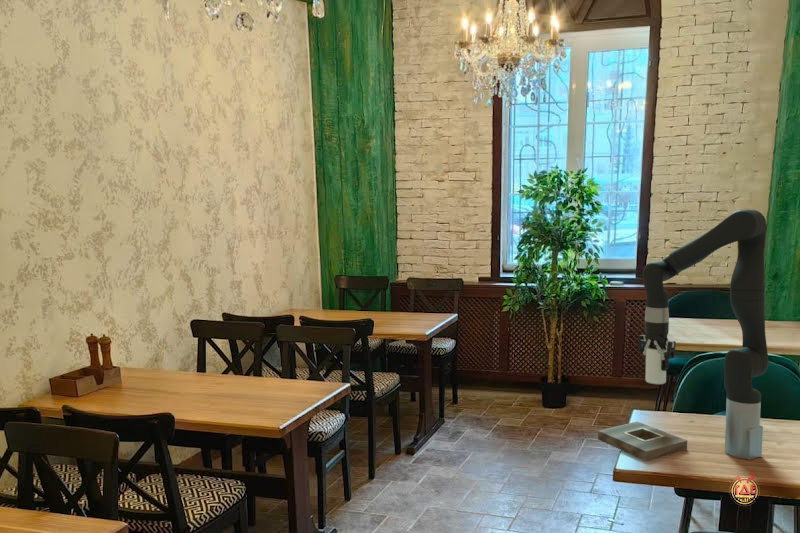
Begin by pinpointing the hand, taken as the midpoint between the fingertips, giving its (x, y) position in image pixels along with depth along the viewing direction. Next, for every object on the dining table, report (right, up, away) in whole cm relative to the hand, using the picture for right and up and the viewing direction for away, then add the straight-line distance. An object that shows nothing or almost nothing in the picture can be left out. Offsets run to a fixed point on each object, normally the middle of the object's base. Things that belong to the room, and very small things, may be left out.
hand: (655, 367), depth 213 cm
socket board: (-9, -23, -11) cm, 27 cm away
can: (0, -5, 0) cm, 5 cm away
